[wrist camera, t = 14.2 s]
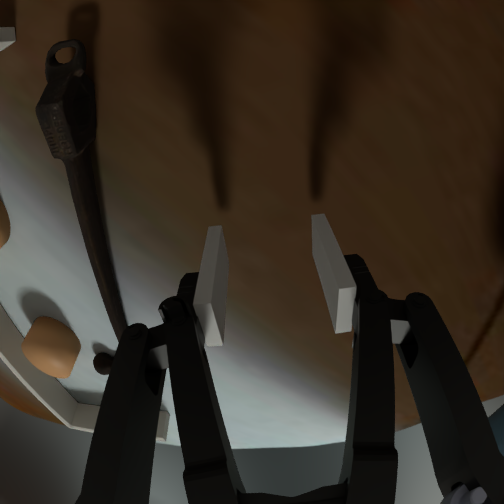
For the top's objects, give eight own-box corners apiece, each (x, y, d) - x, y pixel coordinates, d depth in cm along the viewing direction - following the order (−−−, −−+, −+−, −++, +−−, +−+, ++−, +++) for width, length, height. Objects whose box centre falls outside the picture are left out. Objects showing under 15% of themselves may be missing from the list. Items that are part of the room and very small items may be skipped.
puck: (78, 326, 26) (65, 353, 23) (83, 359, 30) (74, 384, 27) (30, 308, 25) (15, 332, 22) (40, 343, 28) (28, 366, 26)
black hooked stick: (102, 347, 31) (37, 49, 13) (144, 351, 32) (105, 35, 13) (92, 386, 27) (-11, 60, 9) (138, 392, 27) (64, 37, 9)
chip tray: (14, 27, 11) (-23, 28, 8) (169, 415, 35) (166, 441, 32) (-81, 109, 12) (-108, 122, 9) (76, 406, 36) (69, 427, 33)
